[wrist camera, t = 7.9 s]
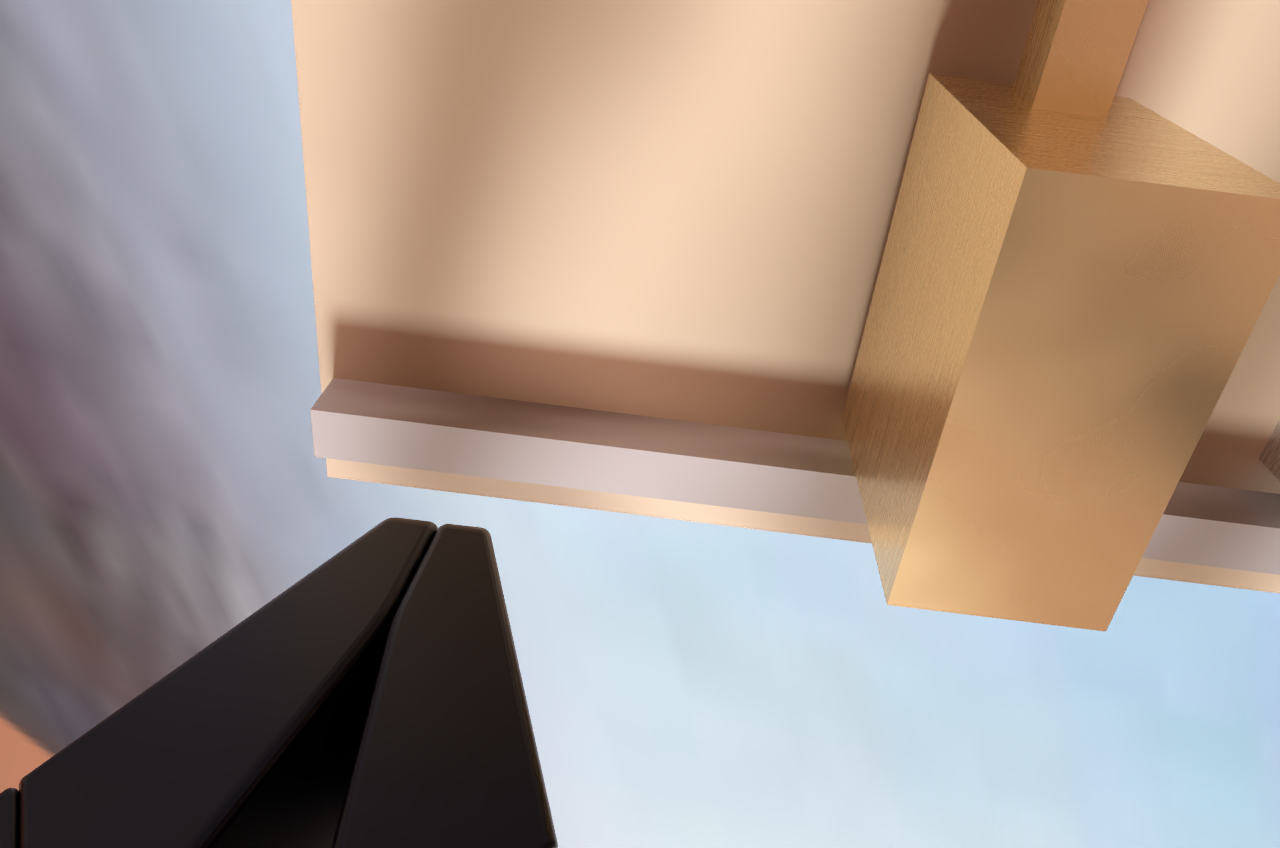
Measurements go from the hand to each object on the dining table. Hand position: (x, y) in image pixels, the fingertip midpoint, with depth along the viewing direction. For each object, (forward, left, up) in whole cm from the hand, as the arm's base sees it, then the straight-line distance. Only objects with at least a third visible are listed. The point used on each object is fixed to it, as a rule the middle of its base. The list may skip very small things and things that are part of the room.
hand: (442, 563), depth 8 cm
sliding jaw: (-7, -2, -9) cm, 11 cm away
